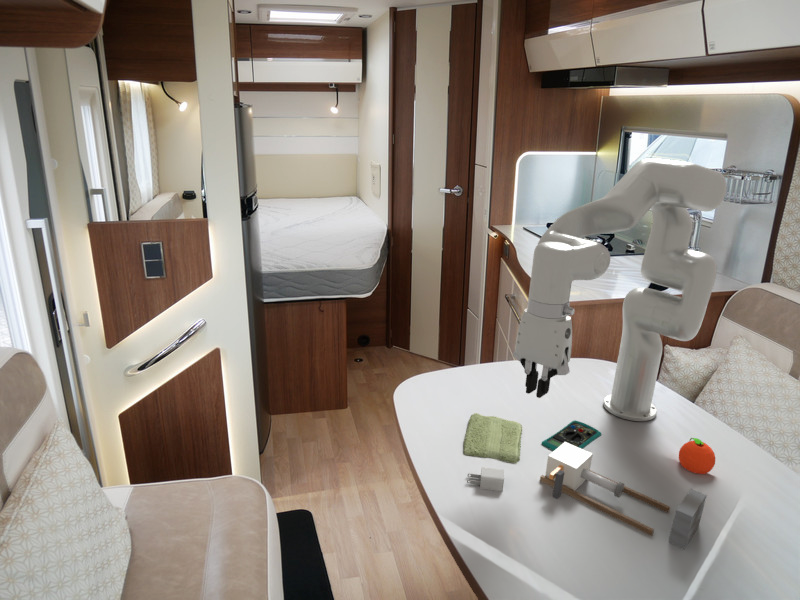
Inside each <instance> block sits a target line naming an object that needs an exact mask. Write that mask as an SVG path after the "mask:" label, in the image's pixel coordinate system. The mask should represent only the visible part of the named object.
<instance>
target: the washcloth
mask: <svg viewBox="0 0 800 600" xmlns="http://www.w3.org/2000/svg"><path fill="white" fill-rule="evenodd" d="M468 420H469V421H468V424H467V425H468V426H467V428H466V432H465V436H464V441H463V455H465V456H469V457H479V458H484V459H485V458H486V459H487V458H488V459H495V460H499V461H502V462H506V463H510V464H518V462H520V460H521V447H522V445H521V444H522V441H521V440H522V435H523V426H522V424H521V423H519V422H518V421H514V420H509V419H504V418H502V417H499V416H498V417H497V416H495V415H493V416H489V415H487V416H485V415H483V414H480V413H476V412H475V413H473V414H471V415H470V417H469V419H468Z"/></svg>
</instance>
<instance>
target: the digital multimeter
mask: <svg viewBox="0 0 800 600" xmlns="http://www.w3.org/2000/svg"><path fill="white" fill-rule="evenodd" d="M601 435H602V432H601V431H599V430H598V429H597V428H596V427H593V426H591V425H589V424H587V423H585V422H581V421H578V420H572V421H571V422H569V423H568V424H567V425H566V426H564V427H563V428H562V429H560V430H558V431H557V432H556V433H554V434H553V435H551V436H549V437H547V438H546V439H544V440H543V441H542V442H541V445H542V446H544V447H545V448H547V449H548V450H551V451H552V452H553V451H554V450H556V449H557V448H558V447H559V446H560V445H562V444H563V443H564V442H567V443H569V444H572V445H574V446H576V447H578V448H581V449H583V450H584V448H585V447H587V446H588V445H590V443H592V442H593V441H595V440H596V439H598V438H599V437H601Z"/></svg>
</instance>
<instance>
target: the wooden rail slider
mask: <svg viewBox="0 0 800 600" xmlns="http://www.w3.org/2000/svg"><path fill="white" fill-rule="evenodd" d="M590 471H591V472H593V473H595V474H597V475H599V476H602V477H604V478H606V479H608V480H610V481H613V482H615V483H617V484H618V483H619V482H617V481H615V480H612V479H610V478H609V477H606V476H604V475H602V474H599V473H597V472H595V471H593V470H591V469H590ZM539 481H540V482H542V483H544V484H546V485H548V486H549V487H552V488H554V484H555V481H554V480H551V479H549V478H548V477H546V476H545V475H543V474H542V475H540V478H539ZM561 493H564V494H566V495H568V496H571V497H573V499H576V500H579V501H580V502H582V503H584V504H586V505H589V506H590V507H592V508H594V509H596V510H598V511H600V512H602V513H605V514H607V516H608V515H609V516H610V517H612V518H614V519H617V520H618V521H621V522H623V523H624V524H627V525H629V526H630V527H633V528H635V529H636V530H639V531H641V532H643V533H645V534H647V535H648V536H651V537H652V536H653V535H654V532H655V528H652V527H650V526H648V525H646V524H644V523H643V522H640V521H638V520H636V519H634V518H632V517H630V516H628V515H626V514H623V513H622V512H619V511H618V510H616V509H613V508H611V507H609V506H607V505H606V504H603V503H601V502H599V501H597V500H595V499H593V498H591V497H589V496H587V495H584V494H583V493H581V492H579V491H577V490H575V491H574V490H572V489H570V488H568V487H566V486H564V485H562V491H561ZM623 494H626V495H628V496H630V497H632V498H635V499H636V500H639V501H641V502H643V503H645V504H647V505H649V506H652V507H654V508H656V509H659V510H661V511H662V512H665V513H667V514H669V513H670V511H671V506H669V505H667V504H665V503H663V502H661V501H659V500H656V499H654V498H652V497H649V496H647V495H645V494H643V493H641V492H639V491H637V490H635V489H633V488H630V487H629V486H628V487H627V486H626V485H624V490H623ZM707 496H708V495H707V494H705V493H703V492H700V491H698V490H695V489H694V488H690V489H689V491H688V492H687V494H686V495H685V496H684V498H683V500H682V501H681V502H680V503H679V504H678V506H677V508H676V509H675V513H674V516H673V522H672V526H671V531H670V534H669V538H668V543H670V544H672V545H673V546H675V547H678V548H679V549H682V550H685V549H686V547H687V546H688V544H689V543H690V542H691V540H692V538H693V536H694V535H695V533H696V531H698V529H699V526H700V522H701V519H702V515H703V510H704V507H705V503H706V499H707Z"/></svg>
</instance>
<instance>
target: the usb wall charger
mask: <svg viewBox="0 0 800 600" xmlns="http://www.w3.org/2000/svg"><path fill="white" fill-rule="evenodd" d="M467 477H468V478H471V479H467V480H466V483H467V484H471V485H478V486H479V487H480V488H479V489H482V490H489V491H490V490H491V491H497V492H503V491H504V482H505V481H504V480H505V470H504V469H501V468H493V467H484V466H481V471H480V474H477V473H467ZM473 478H474V479H480V480H473Z"/></svg>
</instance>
